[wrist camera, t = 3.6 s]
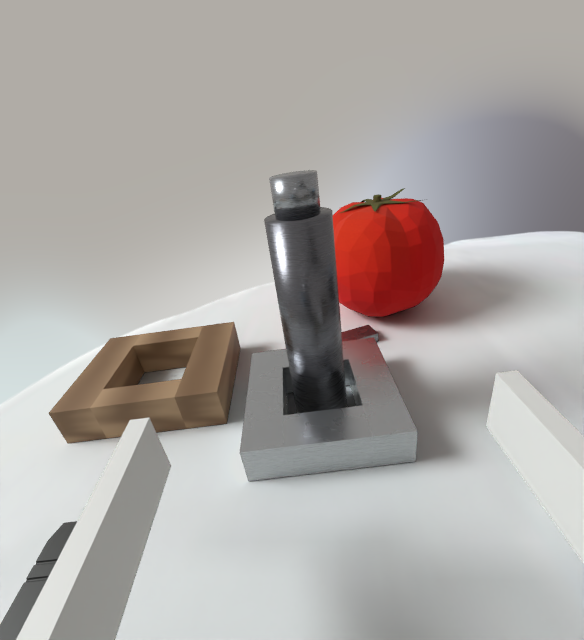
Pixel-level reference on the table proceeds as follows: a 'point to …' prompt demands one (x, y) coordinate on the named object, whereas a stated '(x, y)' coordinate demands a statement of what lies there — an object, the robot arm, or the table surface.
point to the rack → (152, 384)
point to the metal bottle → (307, 290)
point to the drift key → (359, 333)
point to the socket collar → (325, 419)
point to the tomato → (386, 254)
